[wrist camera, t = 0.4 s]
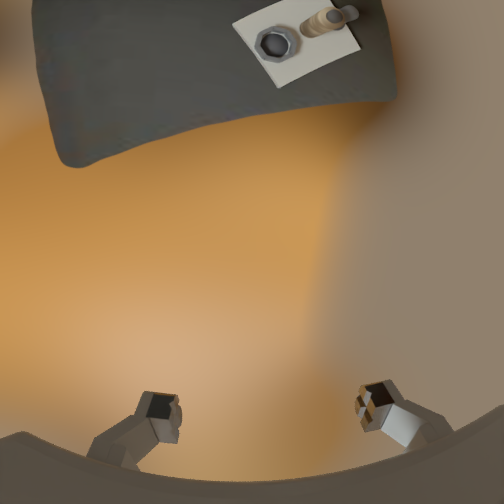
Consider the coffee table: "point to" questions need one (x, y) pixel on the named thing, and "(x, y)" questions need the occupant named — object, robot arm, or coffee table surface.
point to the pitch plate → (294, 39)
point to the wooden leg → (322, 22)
